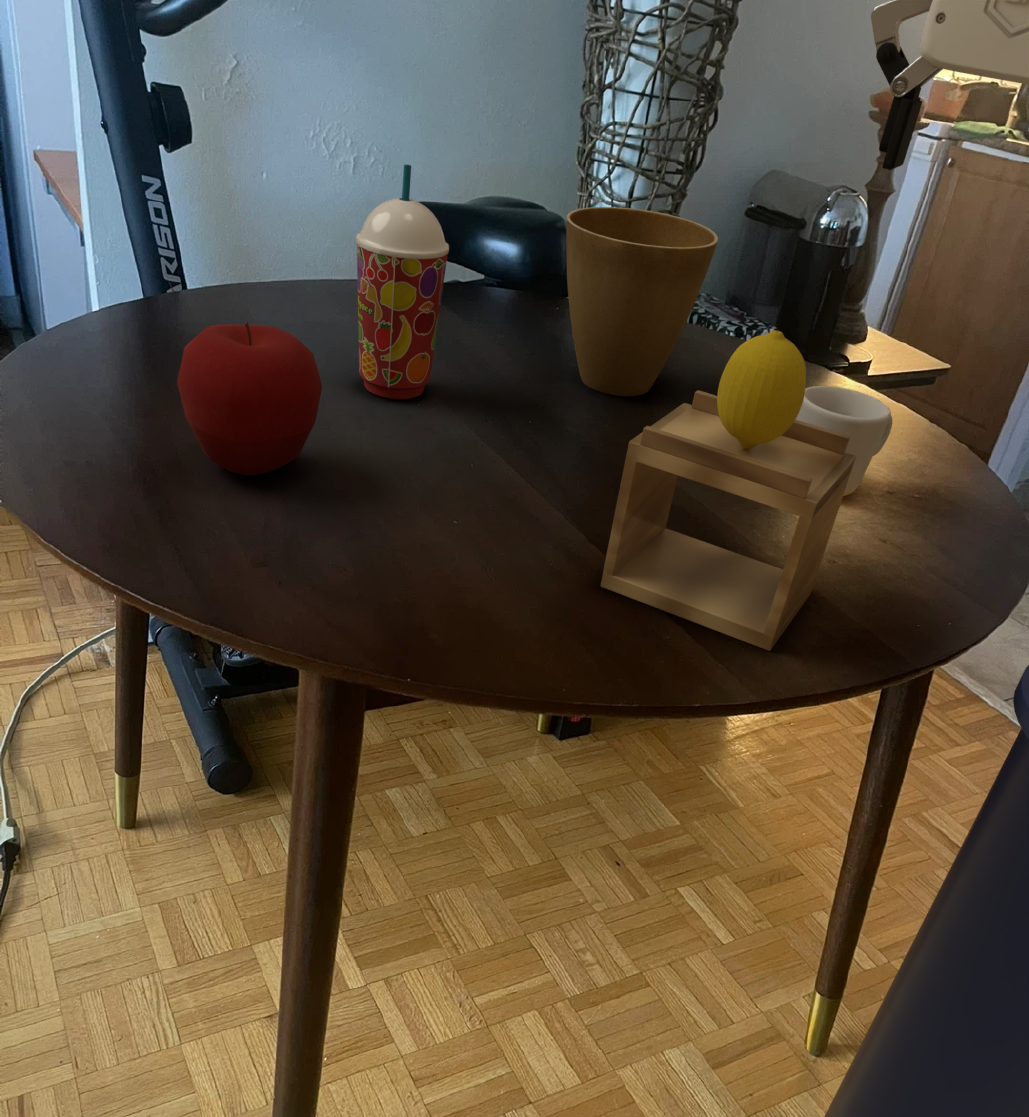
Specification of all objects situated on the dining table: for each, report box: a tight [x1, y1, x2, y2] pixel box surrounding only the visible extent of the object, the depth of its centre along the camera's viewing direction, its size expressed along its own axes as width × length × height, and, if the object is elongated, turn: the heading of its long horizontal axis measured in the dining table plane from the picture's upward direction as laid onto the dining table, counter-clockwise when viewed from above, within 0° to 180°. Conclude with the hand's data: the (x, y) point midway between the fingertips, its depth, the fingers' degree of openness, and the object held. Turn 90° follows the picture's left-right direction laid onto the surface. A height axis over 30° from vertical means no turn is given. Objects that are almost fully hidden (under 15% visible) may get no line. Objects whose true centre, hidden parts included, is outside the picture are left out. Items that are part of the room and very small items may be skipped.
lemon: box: [716, 329, 807, 449], centre depth 70 cm, size 6×6×8 cm
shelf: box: [600, 390, 856, 652], centre depth 75 cm, size 13×10×12 cm
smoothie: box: [355, 163, 450, 400], centre depth 98 cm, size 8×8×20 cm
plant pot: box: [565, 206, 719, 397], centre depth 108 cm, size 15×15×16 cm
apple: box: [176, 320, 323, 476], centre depth 83 cm, size 11×11×12 cm
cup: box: [795, 385, 894, 497], centre depth 96 cm, size 11×8×8 cm
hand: (966, 183), depth 68 cm, fingers open, 9 cm apart
